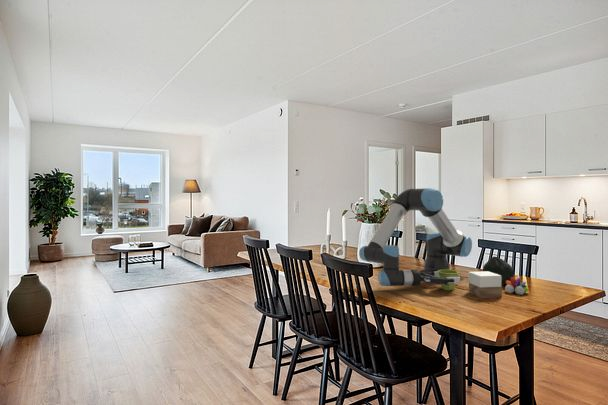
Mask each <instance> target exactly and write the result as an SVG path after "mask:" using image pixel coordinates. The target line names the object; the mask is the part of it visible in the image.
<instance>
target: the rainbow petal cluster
mask: <svg viewBox="0 0 608 405" xmlns="http://www.w3.org/2000/svg"><path fill="white" fill-rule="evenodd" d="M506 284H507V285H505V287H504V291H505V292H506V293H508V294H513V293H514V292H515V293H516V294H517V295H519V296H522V295H524V294H525V293H527V292H528V291H529V287H528V285H526V284H527V282H526V281H523V282H521V278H520V277H517V278H515V277H514V276H513V277H512V278H511V281H506Z"/></svg>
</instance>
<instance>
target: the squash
mask: <svg viewBox="0 0 608 405" xmlns="http://www.w3.org/2000/svg"><path fill="white" fill-rule="evenodd" d="M482 271H489V272H492V273H495V274H498V275H501V286H506V285H507V284H506V281H511V278H512V277H513V278H514V276H515V273H514V269H513V267H512V266H511V264H510V263H509V262H507V261H505V260H504V259H502V258H501V257H498V256H492V257H491V258H490V259H489V260H488V261H487V262H486V263H484V265H483V267H482Z"/></svg>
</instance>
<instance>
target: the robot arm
mask: <svg viewBox="0 0 608 405" xmlns="http://www.w3.org/2000/svg"><path fill="white" fill-rule="evenodd" d="M443 206H444V199H443V195H442V193H441V192H440V190H438V189H436V188H431V187H427V188H409V189H406V190H403V191H402V192H401V193H400V194H398V195H397V196H396V197H395V198H394V200H393V201H392V202H391V204H390V205H389V208H390V209H389V210H388V212H387V214H386V215H385V217H384V219H383V220H382V222H381V224H380V225H379V227H378V229H377V230H376V232H375V233H374V235H373V236H372V238H371V240H370V241H369V243H368V245H364V246H362V247H360V249H359V251H358V254H359V258H360V260H362V261H365V262H369V263H376V264H380V265H382V269H381V270H379V271H378V273H377V279H378V280H377V281H378V284H379V285H380V286H381V287H404V288H406V287H407V286H408V287H409V286H413V287H414V286H420V285H421V283H422V282H423V283H425V284H436V285H437V284H438V285H441V284H446V285H447V284H448V283H456V284H461V277H460V276H457V277H446V278H443V277H440V275H439V272H438V270H451V267H450V264H449V261H448V257H447V256H454V257H460V258H463V257H464V258H465V257H466V258H467V257H468V256H469V255H470V254H471V252H472V249H473V248H472V247H473V240H472V238H471V237H470V236H468V235H467V236H464V235H463V233H462V232H461V231H460V230H458V229H456V227H455V226H454V225H453V223H452V222H451V220H450V218H449V217H448V215H447V214H446V212H445V211H444V210H443ZM410 211H419V212H420V213H421V215H422V216H423V217H425V218H428V219H429V221H430V222H431V224H432V225H433V227H434V228H435V229H436V231H437V232H432V233H428V234H427V235H426V257H425V261H424V263H423V264H424V265H423V271H420V270H419V269H411V270H410V269H400V248H399V246H398V245H394V244H387V243H388V241H389V240H390V238H391V236H392V235H393V234H394V231H395V230H396V228H397V227H398V225H399V224H400V222H401V220H402V218H403V217H404V216H406V215H407V214H408V213H409V212H410ZM386 244H387V245H386Z"/></svg>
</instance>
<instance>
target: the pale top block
mask: <svg viewBox="0 0 608 405" xmlns="http://www.w3.org/2000/svg"><path fill="white" fill-rule="evenodd" d="M467 275H468V276H467V277H468V280H467V283H468V284H469V283H471V284H473V285H476V286H478V287H502V285H501V275H498V274H495V273H492V272H489V271H468V273H467Z"/></svg>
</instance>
